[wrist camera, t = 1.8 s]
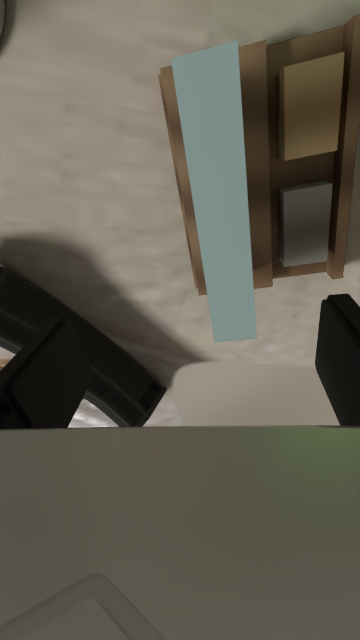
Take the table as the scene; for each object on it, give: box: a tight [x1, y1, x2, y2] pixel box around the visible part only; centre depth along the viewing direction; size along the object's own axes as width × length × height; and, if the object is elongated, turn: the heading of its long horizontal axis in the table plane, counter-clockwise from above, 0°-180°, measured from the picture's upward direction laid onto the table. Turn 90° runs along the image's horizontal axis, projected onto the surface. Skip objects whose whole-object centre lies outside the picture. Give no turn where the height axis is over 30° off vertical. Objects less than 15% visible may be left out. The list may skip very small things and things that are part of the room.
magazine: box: [0, 266, 167, 427], centre depth 37 cm, size 17×3×30 cm
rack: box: [158, 14, 360, 296], centre depth 28 cm, size 20×16×3 cm
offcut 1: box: [276, 52, 345, 161], centre depth 23 cm, size 6×4×4 cm, turn 11°
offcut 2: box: [277, 180, 332, 267], centre depth 28 cm, size 7×4×3 cm, turn 11°
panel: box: [171, 40, 257, 342], centre depth 23 cm, size 16×3×14 cm, turn 11°
